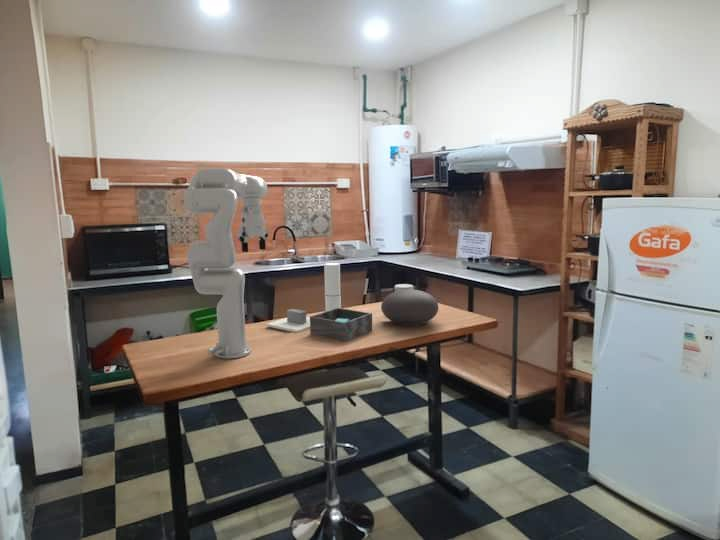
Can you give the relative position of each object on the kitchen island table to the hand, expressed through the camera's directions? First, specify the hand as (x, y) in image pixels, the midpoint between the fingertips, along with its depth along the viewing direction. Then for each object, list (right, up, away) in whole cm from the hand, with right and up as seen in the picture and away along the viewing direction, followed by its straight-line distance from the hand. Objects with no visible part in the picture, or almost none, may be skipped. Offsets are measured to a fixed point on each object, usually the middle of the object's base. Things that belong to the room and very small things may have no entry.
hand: (254, 250), depth 208 cm
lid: (+18, -33, +5) cm, 38 cm away
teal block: (+38, -34, -8) cm, 51 cm away
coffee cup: (+67, -28, +31) cm, 79 cm away
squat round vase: (+67, -32, +6) cm, 74 cm away
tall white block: (+33, -30, +19) cm, 48 cm away
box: (+38, -34, -8) cm, 52 cm away
